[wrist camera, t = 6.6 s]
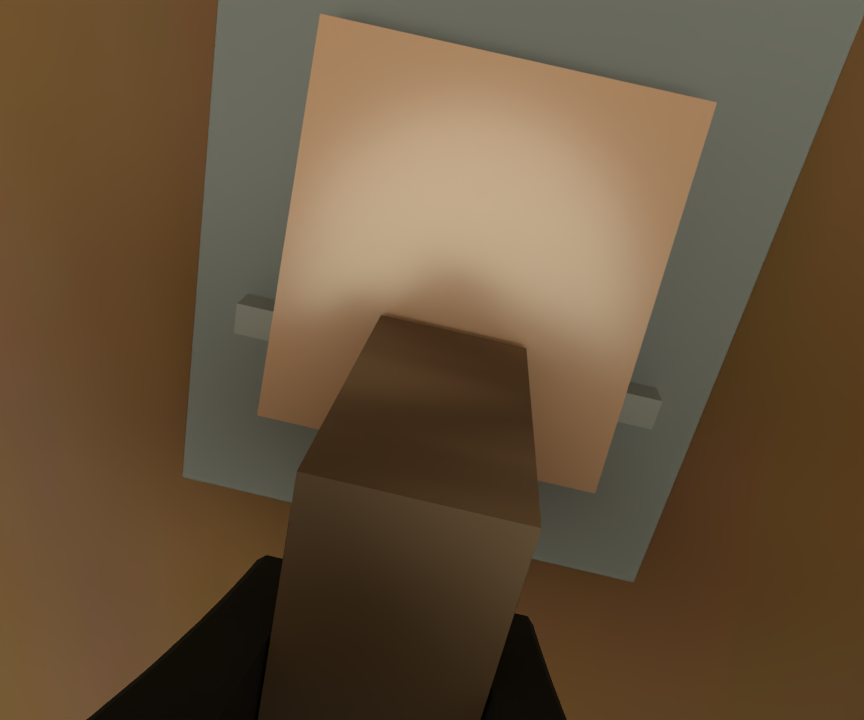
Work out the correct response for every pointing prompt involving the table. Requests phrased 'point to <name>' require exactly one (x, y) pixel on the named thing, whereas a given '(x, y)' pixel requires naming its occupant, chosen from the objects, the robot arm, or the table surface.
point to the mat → (686, 267)
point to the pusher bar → (407, 534)
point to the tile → (479, 224)
